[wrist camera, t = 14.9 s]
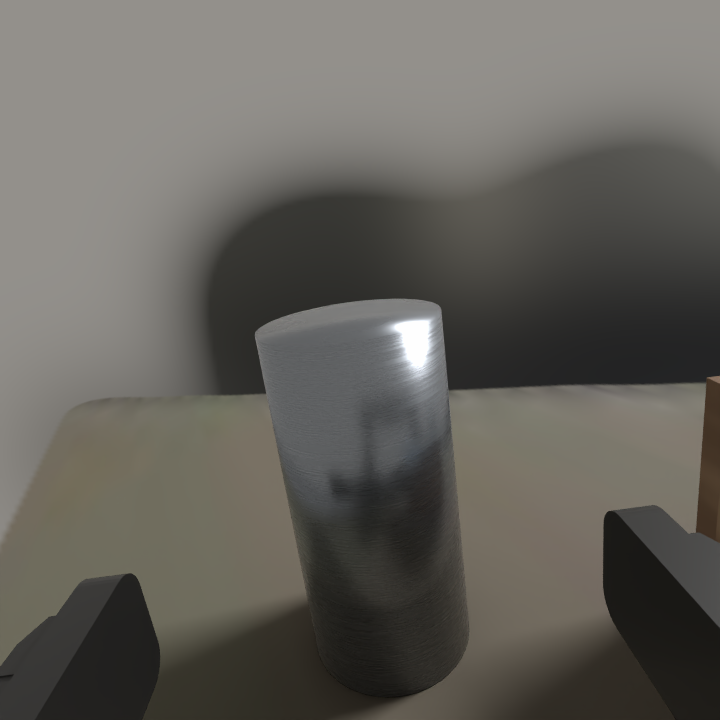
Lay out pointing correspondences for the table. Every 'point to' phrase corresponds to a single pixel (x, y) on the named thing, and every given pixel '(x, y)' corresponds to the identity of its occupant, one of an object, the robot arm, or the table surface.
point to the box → (710, 465)
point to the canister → (371, 487)
